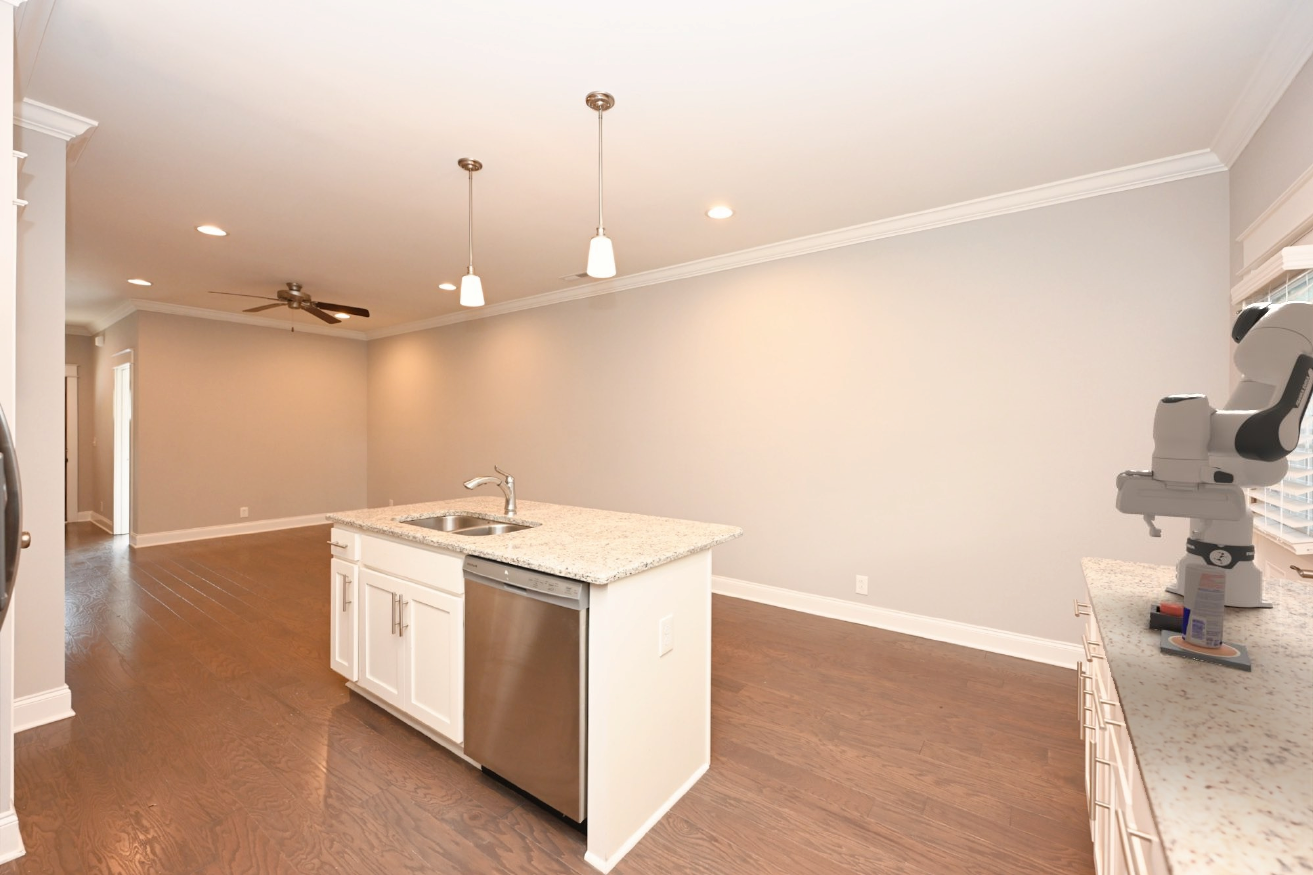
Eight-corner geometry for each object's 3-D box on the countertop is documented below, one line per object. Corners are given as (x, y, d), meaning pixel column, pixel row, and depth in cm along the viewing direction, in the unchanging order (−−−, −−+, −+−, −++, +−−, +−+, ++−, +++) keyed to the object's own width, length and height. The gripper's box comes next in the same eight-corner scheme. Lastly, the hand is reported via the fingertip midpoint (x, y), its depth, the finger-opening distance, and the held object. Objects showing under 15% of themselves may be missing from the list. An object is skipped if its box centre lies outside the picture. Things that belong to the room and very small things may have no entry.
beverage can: (1229, 648, 108) (1234, 569, 108) (1209, 651, 107) (1213, 571, 106) (1194, 637, 114) (1198, 561, 113) (1174, 639, 112) (1178, 563, 112)
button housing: (1150, 619, 127) (1151, 604, 126) (1194, 628, 122) (1195, 611, 122) (1149, 628, 121) (1150, 612, 121) (1194, 637, 117) (1195, 620, 116)
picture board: (1161, 634, 118) (1161, 628, 118) (1245, 650, 110) (1245, 645, 110) (1160, 651, 109) (1160, 646, 109) (1251, 671, 101) (1251, 665, 101)
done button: (1160, 612, 124) (1160, 601, 124) (1185, 617, 122) (1185, 605, 122) (1159, 617, 121) (1160, 605, 121) (1185, 622, 119) (1185, 610, 119)
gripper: (1121, 471, 122) (1118, 536, 122) (1251, 476, 113) (1248, 546, 114) (1112, 468, 128) (1110, 530, 128) (1236, 473, 119) (1233, 540, 119)
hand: (1176, 538), depth 121 cm, fingers open, 5 cm apart
